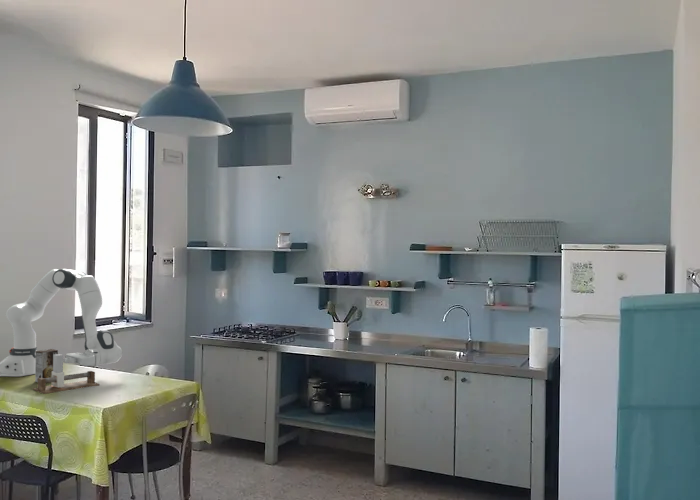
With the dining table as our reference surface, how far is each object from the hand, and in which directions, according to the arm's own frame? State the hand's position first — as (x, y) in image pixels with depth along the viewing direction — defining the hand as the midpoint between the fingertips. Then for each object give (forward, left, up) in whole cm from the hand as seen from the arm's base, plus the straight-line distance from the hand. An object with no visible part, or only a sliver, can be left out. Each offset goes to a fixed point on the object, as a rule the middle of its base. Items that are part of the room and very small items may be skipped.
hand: (64, 360), depth 321 cm
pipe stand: (+1, +1, -14) cm, 14 cm away
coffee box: (-13, +18, -14) cm, 26 cm away
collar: (-2, -2, -12) cm, 12 cm away
